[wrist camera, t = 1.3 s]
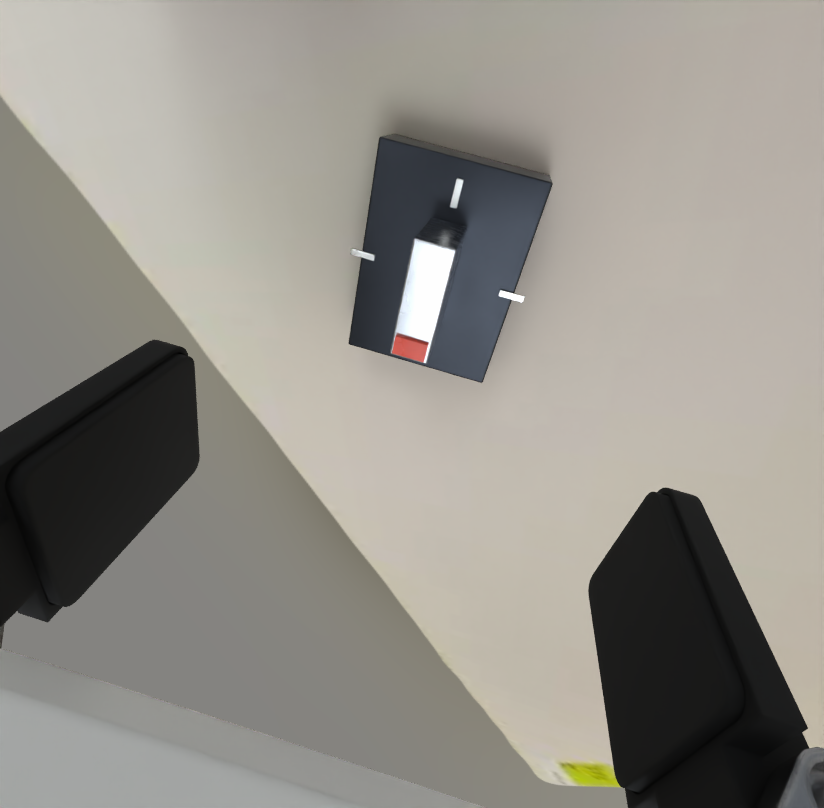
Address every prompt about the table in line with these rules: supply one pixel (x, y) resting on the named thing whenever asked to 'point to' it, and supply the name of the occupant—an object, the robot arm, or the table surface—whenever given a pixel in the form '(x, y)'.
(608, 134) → the table surface
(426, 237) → the tap handle
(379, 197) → the panel
